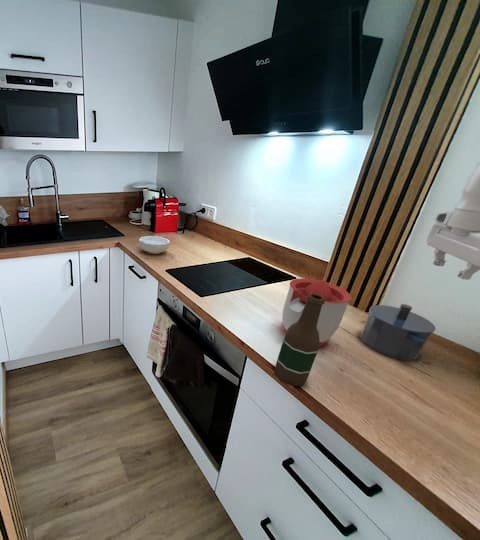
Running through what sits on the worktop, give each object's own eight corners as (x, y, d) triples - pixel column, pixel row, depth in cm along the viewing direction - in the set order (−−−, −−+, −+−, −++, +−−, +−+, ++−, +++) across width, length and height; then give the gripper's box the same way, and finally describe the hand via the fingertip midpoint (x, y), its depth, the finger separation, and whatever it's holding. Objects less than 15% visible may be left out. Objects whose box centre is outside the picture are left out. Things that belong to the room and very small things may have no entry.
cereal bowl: (174, 251, 163) (175, 240, 160) (157, 259, 151) (158, 246, 148) (150, 245, 173) (150, 233, 170) (132, 251, 161) (133, 239, 158)
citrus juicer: (262, 329, 95) (277, 274, 87) (296, 318, 101) (313, 266, 93) (306, 358, 82) (329, 297, 74) (343, 344, 88) (367, 287, 80)
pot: (396, 332, 95) (408, 307, 92) (435, 371, 79) (452, 343, 75) (349, 324, 99) (359, 300, 95) (377, 360, 82) (390, 332, 78)
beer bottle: (311, 379, 74) (343, 299, 65) (296, 392, 70) (328, 308, 61) (282, 362, 80) (306, 286, 71) (266, 373, 76) (290, 293, 66)
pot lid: (413, 313, 90) (421, 298, 88) (447, 340, 77) (457, 324, 75) (359, 305, 93) (365, 291, 91) (382, 329, 81) (390, 314, 78)
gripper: (531, 233, 62) (498, 289, 68) (459, 214, 80) (438, 260, 86) (494, 230, 64) (464, 285, 69) (432, 213, 82) (412, 258, 88)
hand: (449, 271), depth 78 cm, fingers open, 8 cm apart
